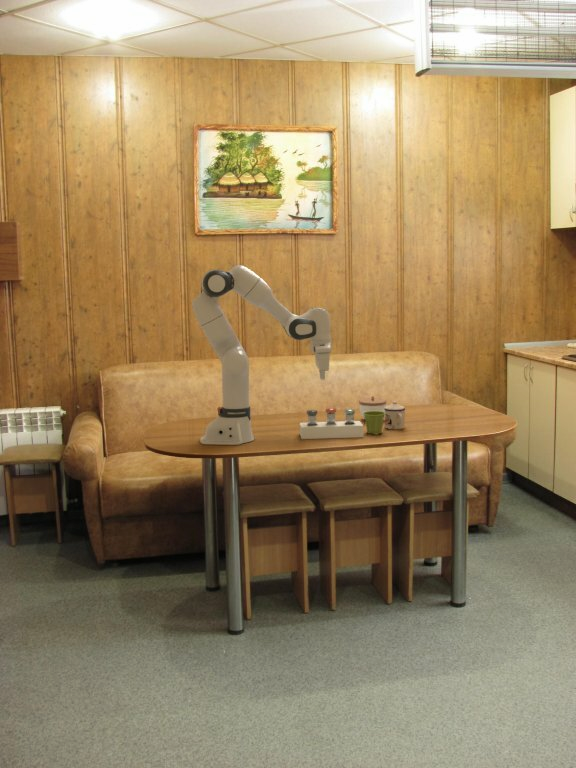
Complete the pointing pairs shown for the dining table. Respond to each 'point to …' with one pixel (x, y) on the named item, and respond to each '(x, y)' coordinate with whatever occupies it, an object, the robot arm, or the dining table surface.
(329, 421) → the brick-red plug
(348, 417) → the plug
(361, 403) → the lidded bowl
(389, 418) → the printed white mug
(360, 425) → the block
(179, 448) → the dining table surface
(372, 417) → the plant pot
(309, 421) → the plug
